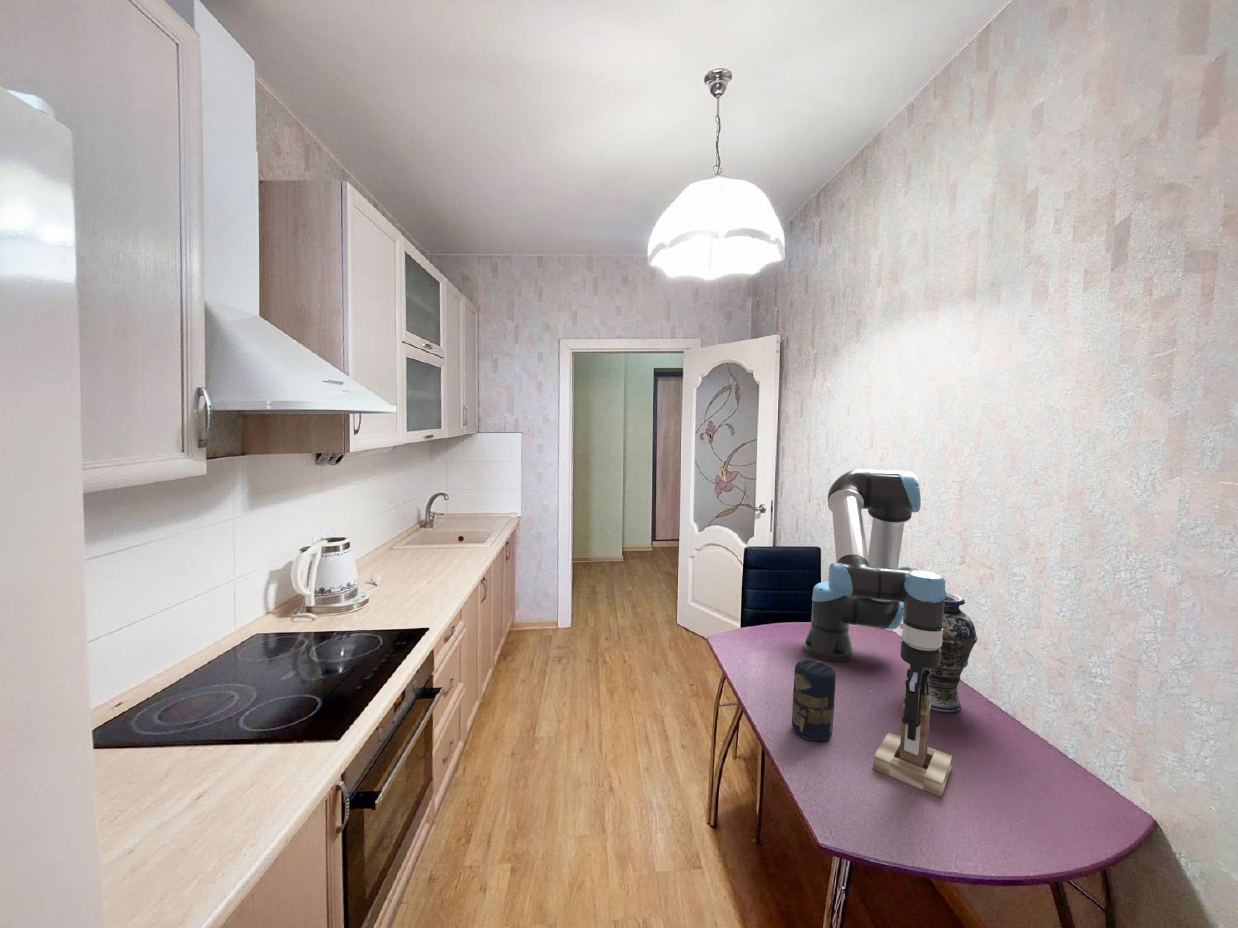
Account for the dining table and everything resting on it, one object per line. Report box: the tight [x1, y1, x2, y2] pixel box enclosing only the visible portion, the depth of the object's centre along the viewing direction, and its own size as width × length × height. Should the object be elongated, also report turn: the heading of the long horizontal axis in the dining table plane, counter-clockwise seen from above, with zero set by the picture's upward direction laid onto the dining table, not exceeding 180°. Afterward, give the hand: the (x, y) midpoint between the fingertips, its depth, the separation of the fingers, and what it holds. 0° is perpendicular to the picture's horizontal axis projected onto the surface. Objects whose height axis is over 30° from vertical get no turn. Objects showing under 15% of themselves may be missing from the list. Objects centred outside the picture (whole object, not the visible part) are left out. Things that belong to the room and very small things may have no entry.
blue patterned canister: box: [791, 658, 837, 742], centre depth 128 cm, size 10×10×18 cm
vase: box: [929, 591, 978, 714], centre depth 143 cm, size 17×17×30 cm
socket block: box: [872, 732, 953, 798], centre depth 116 cm, size 12×13×3 cm
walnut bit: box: [899, 693, 931, 767], centre depth 115 cm, size 5×5×14 cm
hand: (914, 746), depth 116 cm, fingers closed on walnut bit, 4 cm apart
